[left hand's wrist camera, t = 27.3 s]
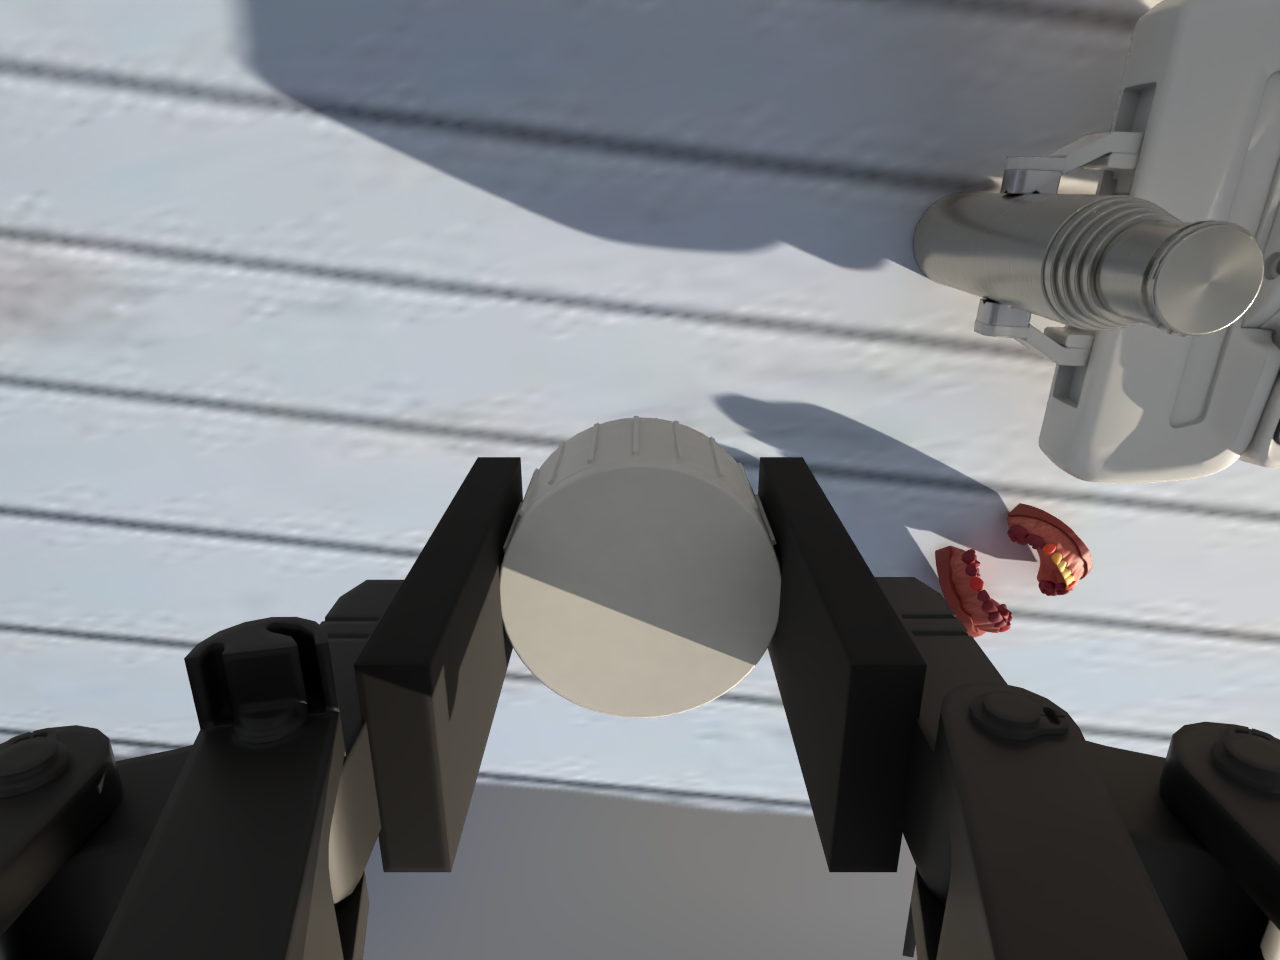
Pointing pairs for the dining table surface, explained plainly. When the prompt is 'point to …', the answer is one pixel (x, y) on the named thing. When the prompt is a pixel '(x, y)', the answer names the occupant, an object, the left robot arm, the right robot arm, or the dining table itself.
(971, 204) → the bottle
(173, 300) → the dining table surface
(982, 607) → the dental model
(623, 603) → the cap
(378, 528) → the dining table surface
